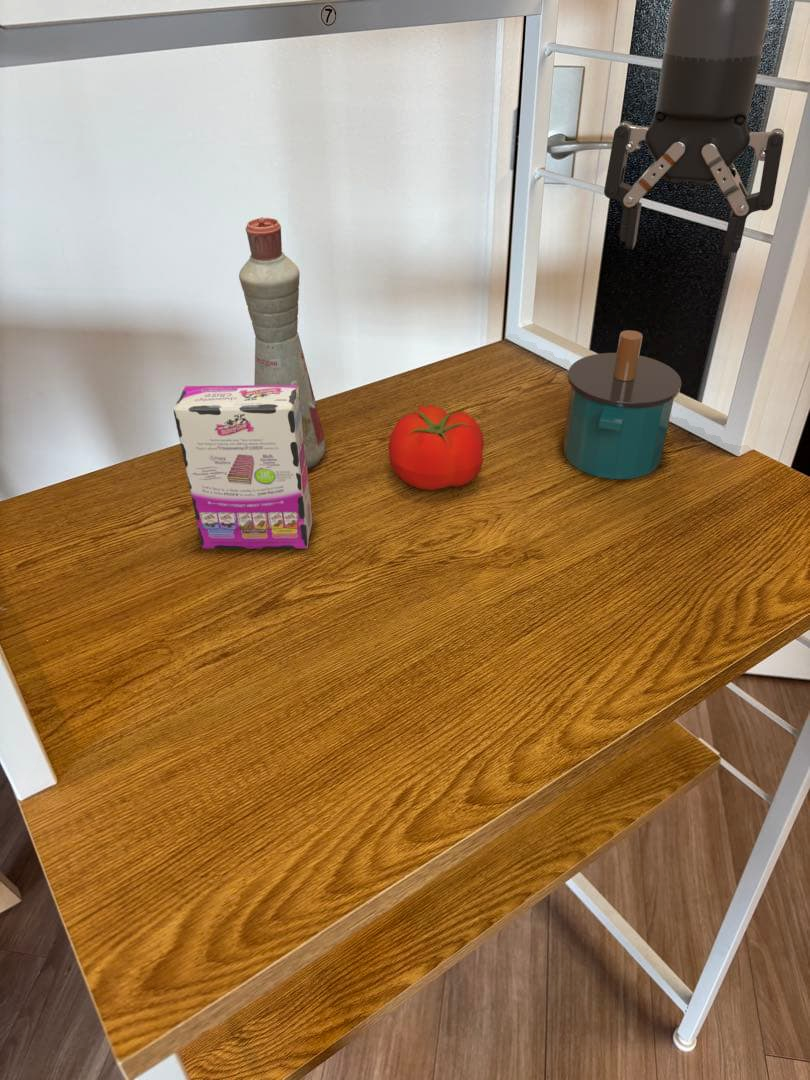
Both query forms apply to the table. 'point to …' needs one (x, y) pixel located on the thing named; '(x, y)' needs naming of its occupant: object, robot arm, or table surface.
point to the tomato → (436, 448)
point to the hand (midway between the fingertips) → (677, 251)
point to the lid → (624, 376)
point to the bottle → (279, 325)
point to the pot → (614, 437)
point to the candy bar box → (246, 465)
